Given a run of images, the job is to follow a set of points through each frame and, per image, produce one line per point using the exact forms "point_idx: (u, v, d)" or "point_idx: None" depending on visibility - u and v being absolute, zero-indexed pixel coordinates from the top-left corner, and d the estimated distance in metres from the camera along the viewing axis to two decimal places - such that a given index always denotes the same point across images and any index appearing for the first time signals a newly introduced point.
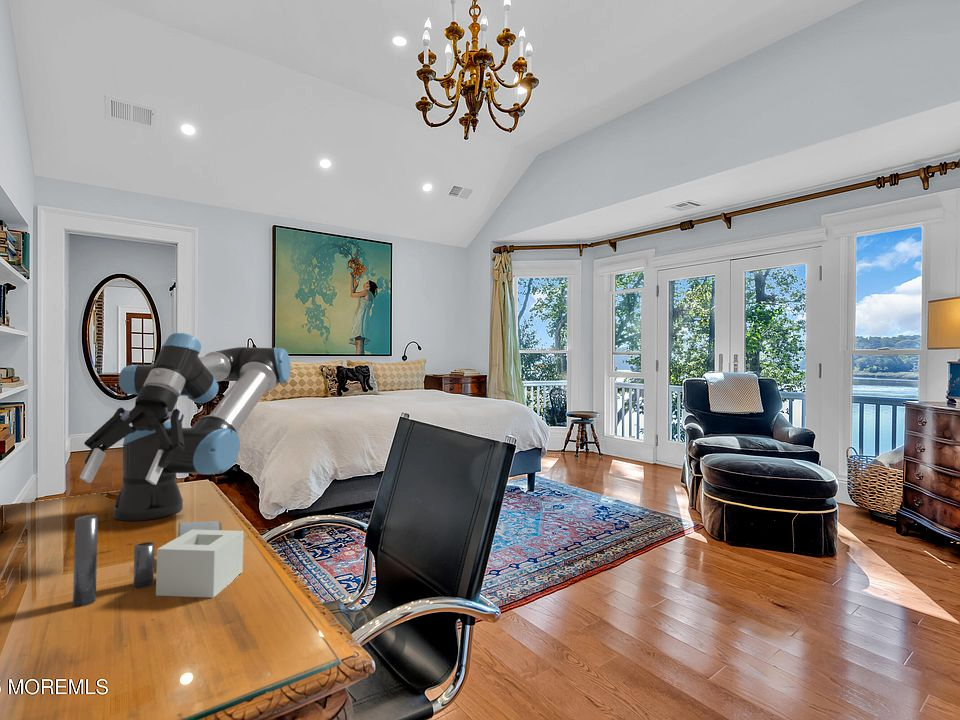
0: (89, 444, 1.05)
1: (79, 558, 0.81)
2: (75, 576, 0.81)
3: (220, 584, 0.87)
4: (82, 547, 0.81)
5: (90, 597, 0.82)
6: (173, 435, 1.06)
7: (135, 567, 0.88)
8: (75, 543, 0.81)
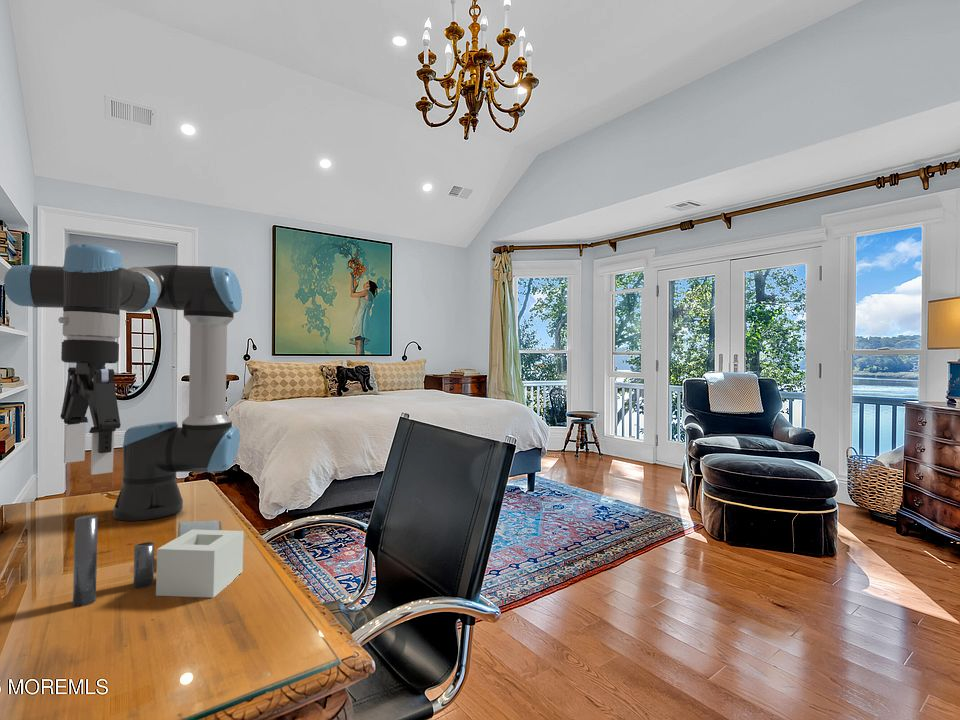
0: (64, 417, 0.87)
1: (79, 558, 0.81)
2: (75, 576, 0.81)
3: (220, 584, 0.87)
4: (82, 547, 0.81)
5: (90, 597, 0.82)
6: (97, 411, 0.77)
7: (135, 567, 0.88)
8: (75, 543, 0.81)
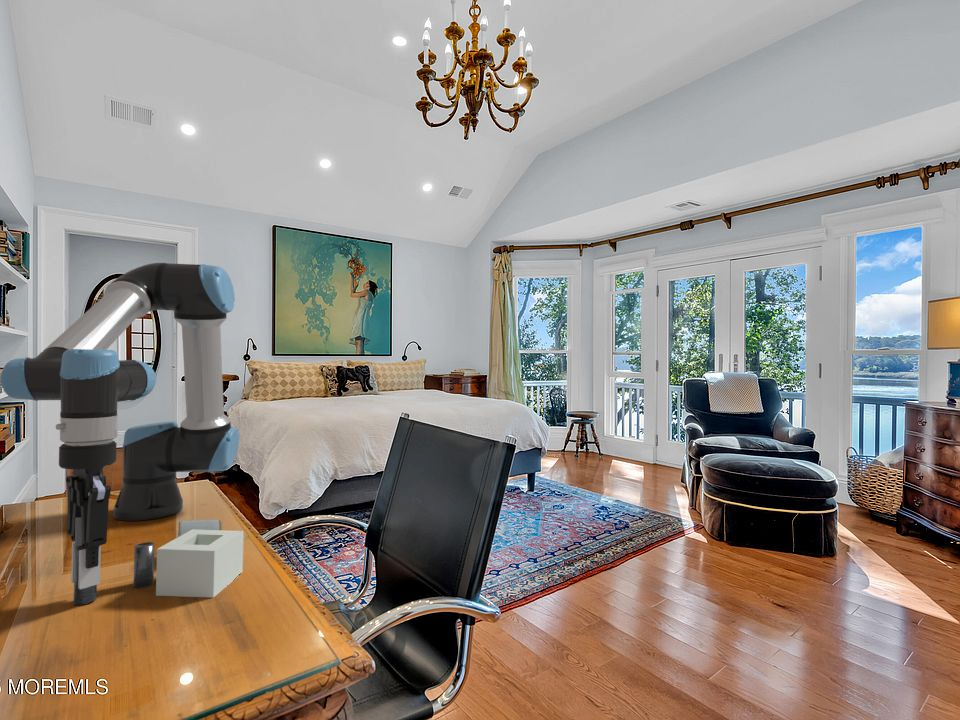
0: None
1: None
2: (76, 574, 0.81)
3: (220, 584, 0.87)
4: None
5: (91, 595, 0.82)
6: (87, 528, 0.79)
7: (135, 567, 0.88)
8: (75, 542, 0.81)
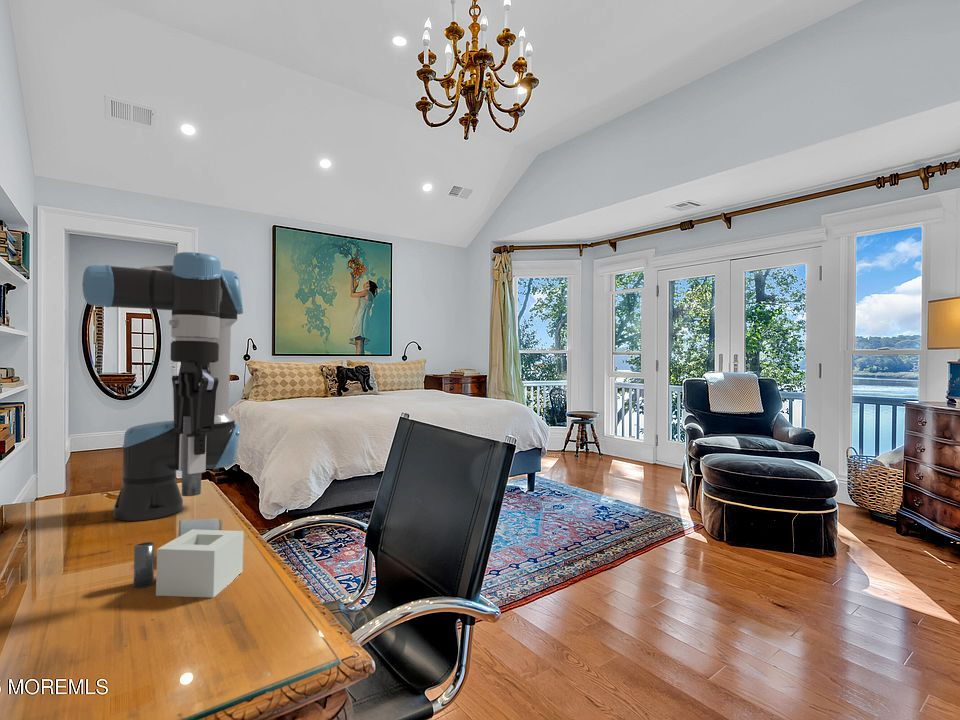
0: None
1: None
2: (184, 468, 0.88)
3: (220, 584, 0.87)
4: None
5: (197, 489, 0.89)
6: (197, 416, 0.86)
7: (135, 567, 0.88)
8: (184, 438, 0.88)
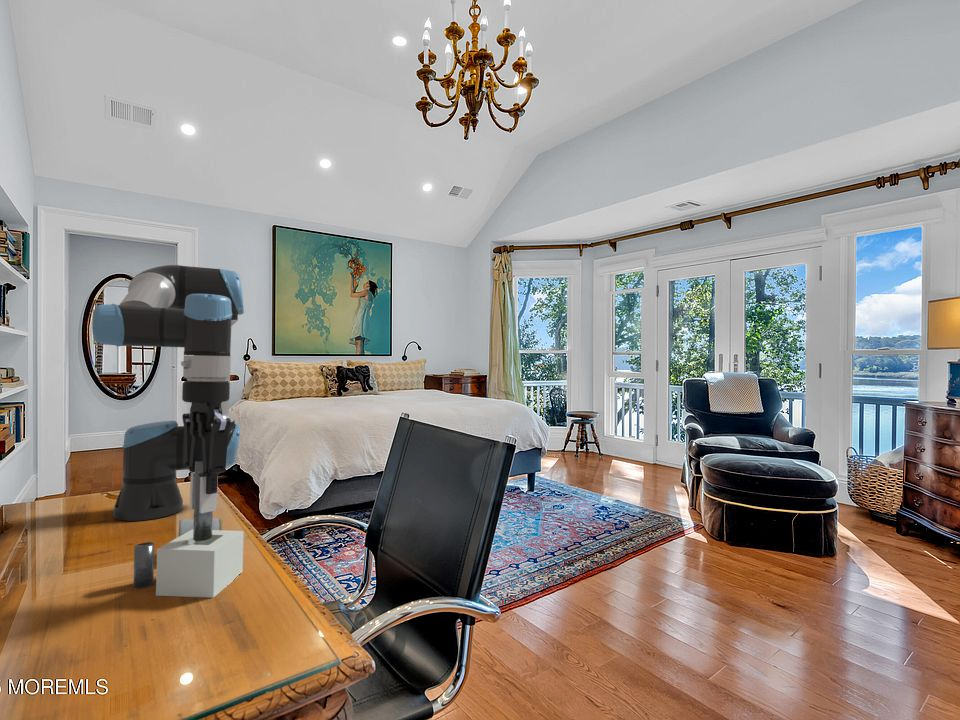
0: (188, 464, 0.92)
1: None
2: (196, 513, 0.89)
3: (220, 584, 0.87)
4: None
5: (208, 533, 0.90)
6: (210, 456, 0.87)
7: (135, 567, 0.88)
8: (195, 483, 0.89)
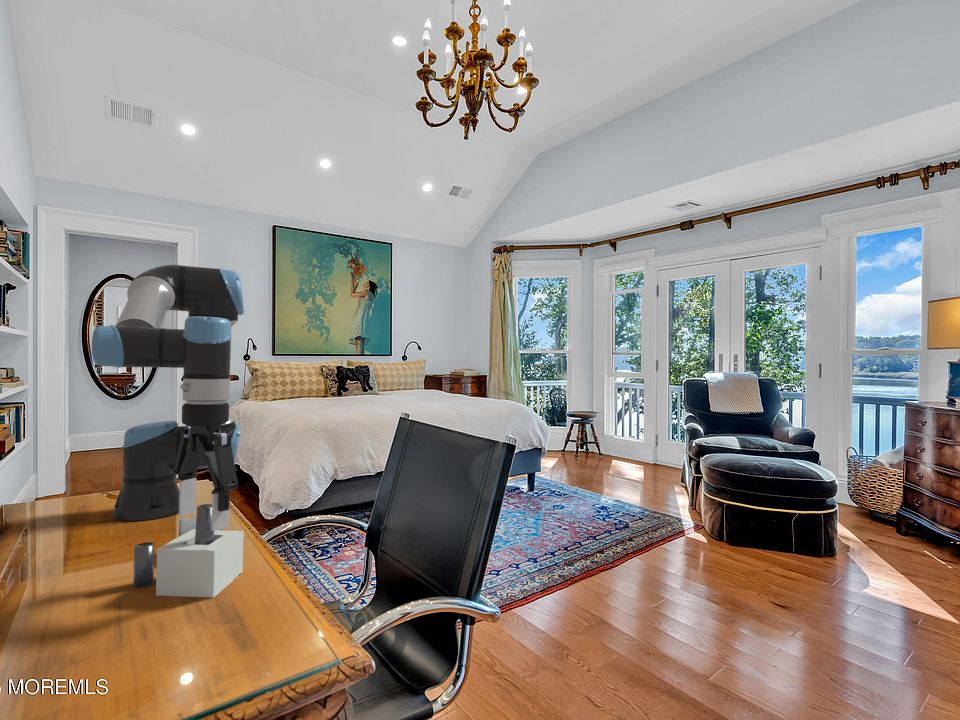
0: (177, 473, 0.95)
1: (200, 543, 0.89)
2: None
3: (220, 584, 0.87)
4: (203, 533, 0.89)
5: None
6: (219, 473, 0.85)
7: (135, 567, 0.88)
8: (197, 529, 0.89)
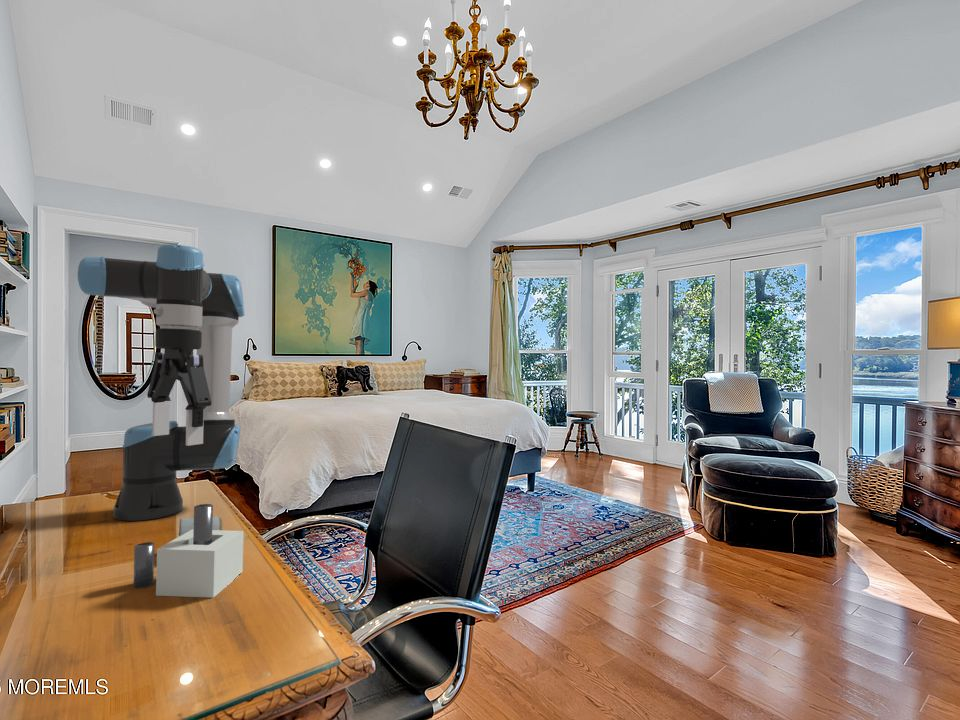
0: (151, 396, 0.99)
1: (199, 543, 0.89)
2: None
3: (220, 584, 0.87)
4: (201, 533, 0.89)
5: None
6: (192, 391, 0.89)
7: (135, 567, 0.88)
8: (195, 529, 0.89)
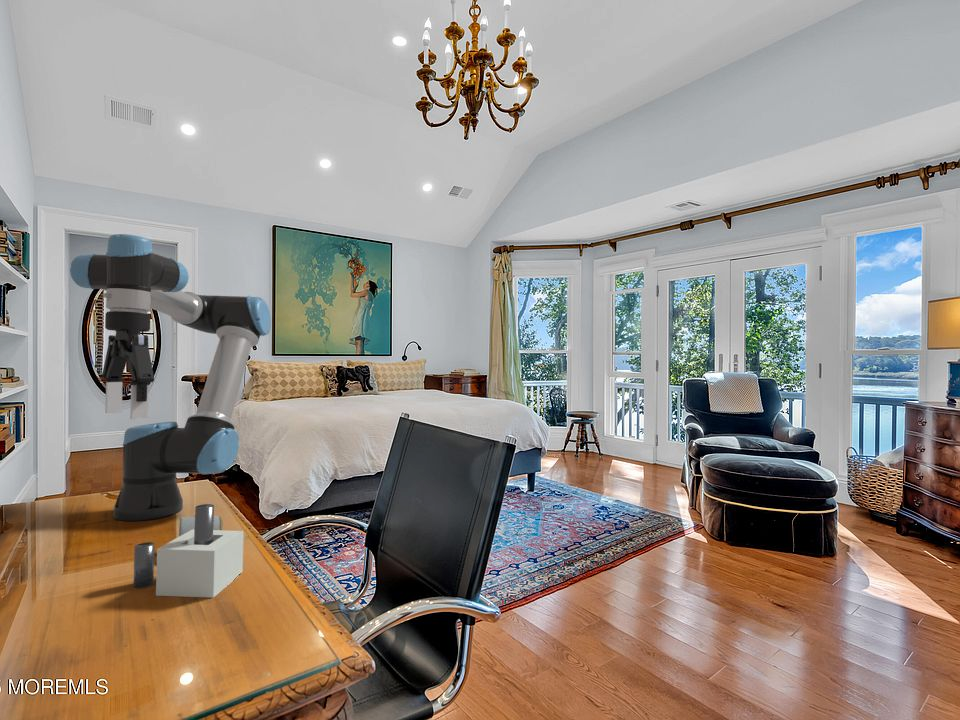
0: None
1: (199, 543, 0.89)
2: None
3: (220, 584, 0.87)
4: (202, 533, 0.89)
5: None
6: (136, 368, 0.96)
7: (135, 567, 0.88)
8: (195, 529, 0.89)
